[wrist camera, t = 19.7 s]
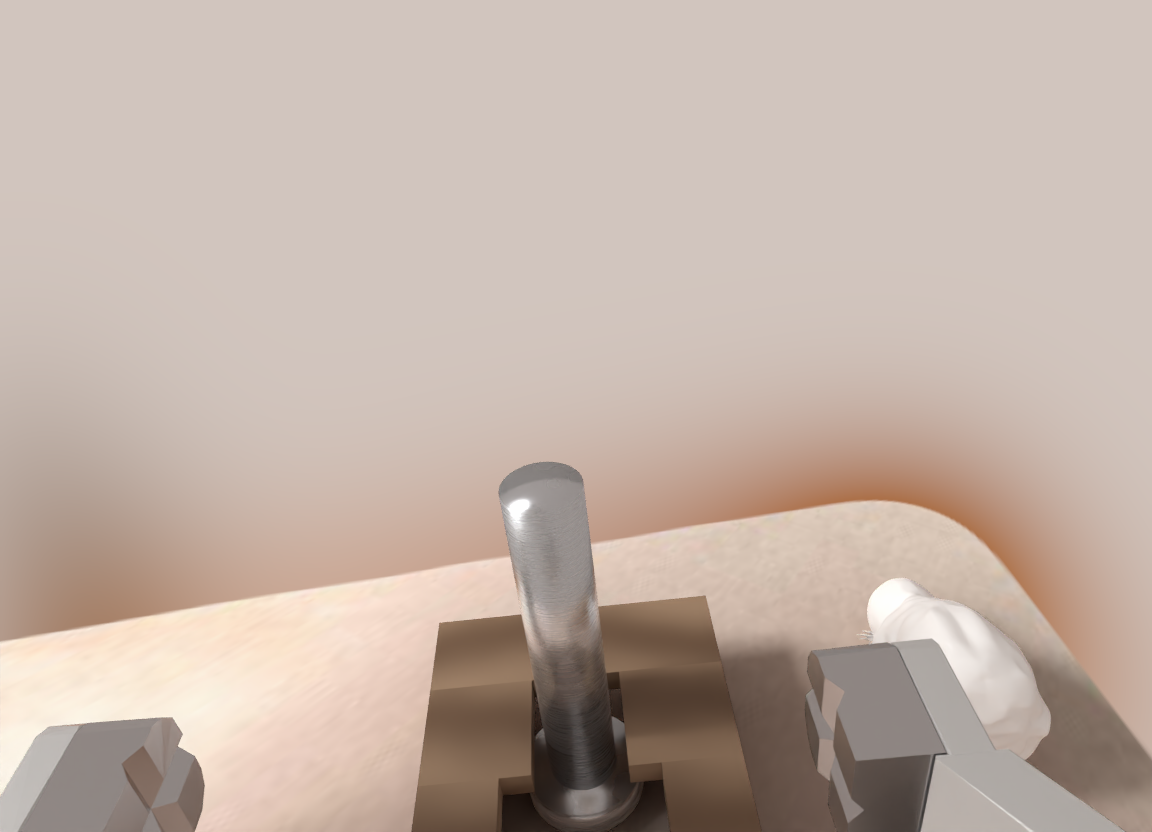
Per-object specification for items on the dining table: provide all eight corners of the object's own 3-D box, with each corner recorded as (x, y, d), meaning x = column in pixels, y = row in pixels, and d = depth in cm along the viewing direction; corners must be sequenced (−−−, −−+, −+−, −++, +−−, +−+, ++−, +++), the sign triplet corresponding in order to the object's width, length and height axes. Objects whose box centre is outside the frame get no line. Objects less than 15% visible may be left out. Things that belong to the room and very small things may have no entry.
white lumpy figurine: (912, 684, 33) (838, 516, 44) (897, 828, 37) (832, 641, 48) (1077, 676, 33) (962, 508, 44) (1044, 822, 37) (946, 635, 48)
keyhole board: (797, 1070, 30) (803, 1004, 28) (413, 1104, 31) (383, 1043, 28) (707, 661, 46) (705, 595, 44) (456, 686, 47) (439, 623, 44)
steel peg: (512, 819, 40) (441, 525, 30) (551, 722, 44) (500, 438, 35) (627, 847, 38) (590, 545, 28) (655, 743, 42) (631, 451, 33)
